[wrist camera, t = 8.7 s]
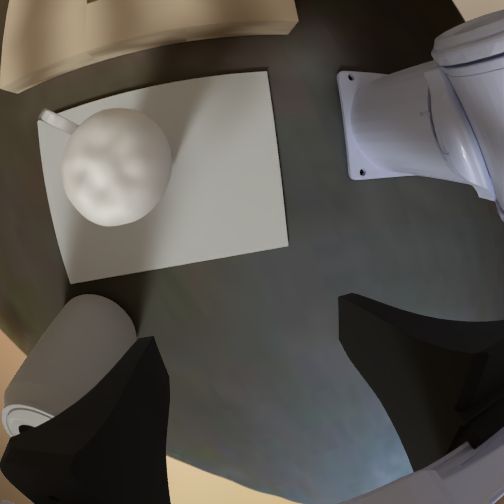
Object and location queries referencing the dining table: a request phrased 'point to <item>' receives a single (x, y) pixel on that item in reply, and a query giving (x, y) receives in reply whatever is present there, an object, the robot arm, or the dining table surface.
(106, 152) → the milkshake
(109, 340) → the beverage can
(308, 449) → the dining table surface
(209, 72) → the dining table surface
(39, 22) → the pocket holder
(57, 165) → the grey mat
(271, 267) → the dining table surface
